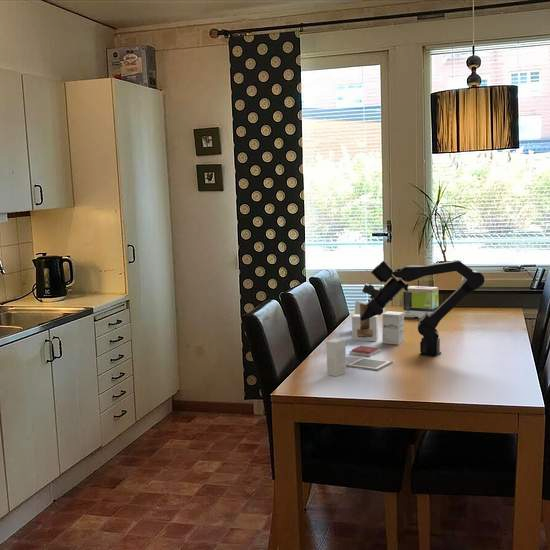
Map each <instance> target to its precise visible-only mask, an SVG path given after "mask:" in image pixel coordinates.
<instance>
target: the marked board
mask: <svg viewBox="0 0 550 550" xmlns="http://www.w3.org/2000/svg"><path fill="white" fill-rule="evenodd" d="M393 363H394V361H393V360H392V361H391V360H384V359H375V358H369V357H368V358H367V357H359V358H357V359H355V360H353V361H351V362H349V363H346V368H354V369H361V370H367V371H373V372H374V371H376V372H378V371H381V370H382V369H384V368H386V367H388V366H389V365H390V366H391V365H392V364H393Z"/></svg>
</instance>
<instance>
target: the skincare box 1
mask: <svg viewBox="0 0 550 550" xmlns="http://www.w3.org/2000/svg"><path fill="white" fill-rule="evenodd" d="M325 343H326V345H325V346H326V374H327V375H328V376H333V377H338V376H340V375H344V374H346V373H347V367H346V364H347V361H346V360H347V359H346V358H347V357H346V355H347V353H346V352H347V351H346V339H345V338H338V337H337V338H336V337H335V338H333V339H329V340H326V342H325Z"/></svg>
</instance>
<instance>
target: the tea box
mask: <svg viewBox="0 0 550 550" xmlns="http://www.w3.org/2000/svg"><path fill="white" fill-rule="evenodd" d="M402 290H403V291H402V293H403V295H402V297H403V299H402V301H403V304H402V305H403V312H404V318H414V317H418V318H417V319H419V318H421V317H423V316H424V314H425V313H426V312H427V313H428V314H431V313H432V312H434V311H435V310H436V309H437V308H438V307H439V306H440V305H439V301H440V300H439V287H438V286H420V285H418V286H417V285H408V291H406V290H405V289H404V288H403V289H402Z"/></svg>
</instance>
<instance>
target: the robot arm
mask: <svg viewBox="0 0 550 550" xmlns="http://www.w3.org/2000/svg"><path fill="white" fill-rule="evenodd" d="M451 272H456V273H458V274H459V275H460V276H462V277H464V279H463V280H462V283H461V284H460V286H459V287H457V289H455V290H454V292H453V293H451V294H450V295H449V297H448V298H446V299H445V300H444V301H443V302H442V303H441V304H440V305H439V307H438V308H437V309H436V310H435V311H434V312H432V313H431V314H428V313H427V312H426V313H425V314H424V316H423V317H421V318H418V323H417V332H418V333H419V334H420V335H421V336H422V337H421V340H420V343H419V348H420V349H419V355H420V356H427V357H428V356H429V357H437V356H439V355H441V354H442V351H440V350H441V347H440V346H441V345H440V344H441V343H440V341H441V339H440V338H439V337H440V334H439V331H438V330H437V329H436V328H437V326H438V325H439V324H440V322H441V320H443V319H444V317H446V315H448V314H449V313H450V312H451V311H452V310H453V308H455V307H456V306H457V305H458V304H459V303H460V302H461V301H462V300H463V299H464V298H465V297H466V296H467V295H469V294H471V293H473V292H474V291H476V290H477V289H479V288H480V287H482V286H483V285H484V283H485V277H484V275H483V274H482V272H481V271H480V270H477V269H476V270H474V269H471V267H469V266H468V265H466V264H465V263H463V262H462V261H461V260H459V259H455V260H451V261H445V262H438V263H431V264H426V265H417V264H416V265H415V264H411V265H410V264H407V265H403V266H402V267H401V268H395V269H392V267H390V265H388V264H387V262H386V261H385V260H382V261H381V262H380V263H379V264H377V265H376V266H375V267H374V268H373V269H372V271H371V272H370V274H372V275H373V277H374V278H376V280H377V281H379V282H380V283H386V282H387V283H386V284H385V285H384V286H382V287H380V288H377V287H376V286H375V285H373V284H369V283H368V282H366V283H365V284H364V286H363V288H362V291H361V292H362V293H364V294H367V295H370V296H369V299H368V301H367V303H368V304H367V310H366V311H365V312H364V314H363V315H362V317H361V318H360V320H361V321H363V320H366V319H368V318H371V317H373V316H376V315H378V317H379V316H381V315H383V313H384V309H385V307H386V306H387V305H388V304H389V303H390V302H392V301H393V300H394V298H395V297H396V296H397V295H398V294H399V293H400V292H401V291H402V290H403V288H404V289H405V290H406V291H408V287H409V283H410V282H413V281H416V280H418V279H421V278H423V277H426V276H427V277H428V276H433V275H440V274H445V273H451ZM398 278H399V279H398Z"/></svg>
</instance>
